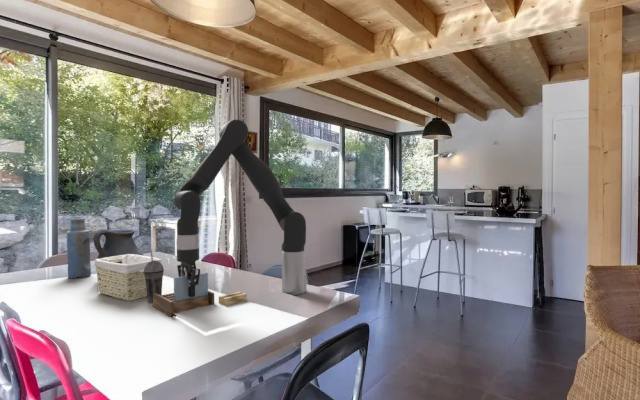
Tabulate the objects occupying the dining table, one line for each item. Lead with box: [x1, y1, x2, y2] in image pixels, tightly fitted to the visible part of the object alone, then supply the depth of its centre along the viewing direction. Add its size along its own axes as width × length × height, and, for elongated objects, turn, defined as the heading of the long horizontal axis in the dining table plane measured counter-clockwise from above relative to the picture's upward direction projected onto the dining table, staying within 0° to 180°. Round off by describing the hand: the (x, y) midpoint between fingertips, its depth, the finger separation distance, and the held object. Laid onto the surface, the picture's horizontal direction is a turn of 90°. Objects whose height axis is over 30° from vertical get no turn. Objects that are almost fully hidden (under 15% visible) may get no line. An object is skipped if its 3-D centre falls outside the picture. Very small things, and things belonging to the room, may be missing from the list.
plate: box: [173, 272, 209, 302], centre depth 134 cm, size 12×1×11 cm, turn 134°
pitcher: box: [93, 228, 145, 264], centre depth 179 cm, size 21×22×25 cm
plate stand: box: [218, 291, 248, 307], centre depth 138 cm, size 9×5×4 cm, turn 134°
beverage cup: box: [143, 249, 165, 304], centre depth 143 cm, size 7×7×20 cm
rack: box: [152, 290, 215, 318], centre depth 136 cm, size 16×16×5 cm
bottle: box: [66, 216, 92, 279], centre depth 187 cm, size 10×10×30 cm
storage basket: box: [94, 254, 163, 302], centre depth 154 cm, size 24×16×15 cm
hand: (188, 295), depth 133 cm, fingers open, 4 cm apart
